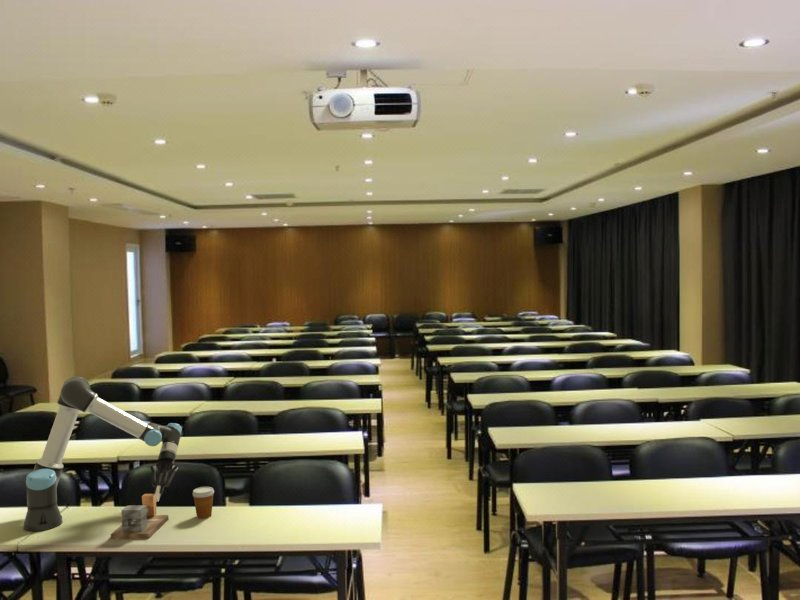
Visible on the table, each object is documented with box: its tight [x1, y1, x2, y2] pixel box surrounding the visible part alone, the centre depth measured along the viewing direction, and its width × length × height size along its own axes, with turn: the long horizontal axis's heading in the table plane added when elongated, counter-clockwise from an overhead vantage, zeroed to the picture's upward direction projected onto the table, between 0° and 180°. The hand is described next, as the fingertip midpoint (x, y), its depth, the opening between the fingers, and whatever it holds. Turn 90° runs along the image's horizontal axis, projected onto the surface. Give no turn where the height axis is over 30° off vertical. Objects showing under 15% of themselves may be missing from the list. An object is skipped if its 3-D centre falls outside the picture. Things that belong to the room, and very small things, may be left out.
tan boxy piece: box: [141, 493, 158, 516], centre depth 304 cm, size 5×13×9 cm, turn 178°
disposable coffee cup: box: [192, 486, 215, 520], centre depth 313 cm, size 10×10×12 cm
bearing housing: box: [110, 504, 170, 540], centre depth 299 cm, size 16×22×11 cm
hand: (156, 500), depth 316 cm, fingers closed
